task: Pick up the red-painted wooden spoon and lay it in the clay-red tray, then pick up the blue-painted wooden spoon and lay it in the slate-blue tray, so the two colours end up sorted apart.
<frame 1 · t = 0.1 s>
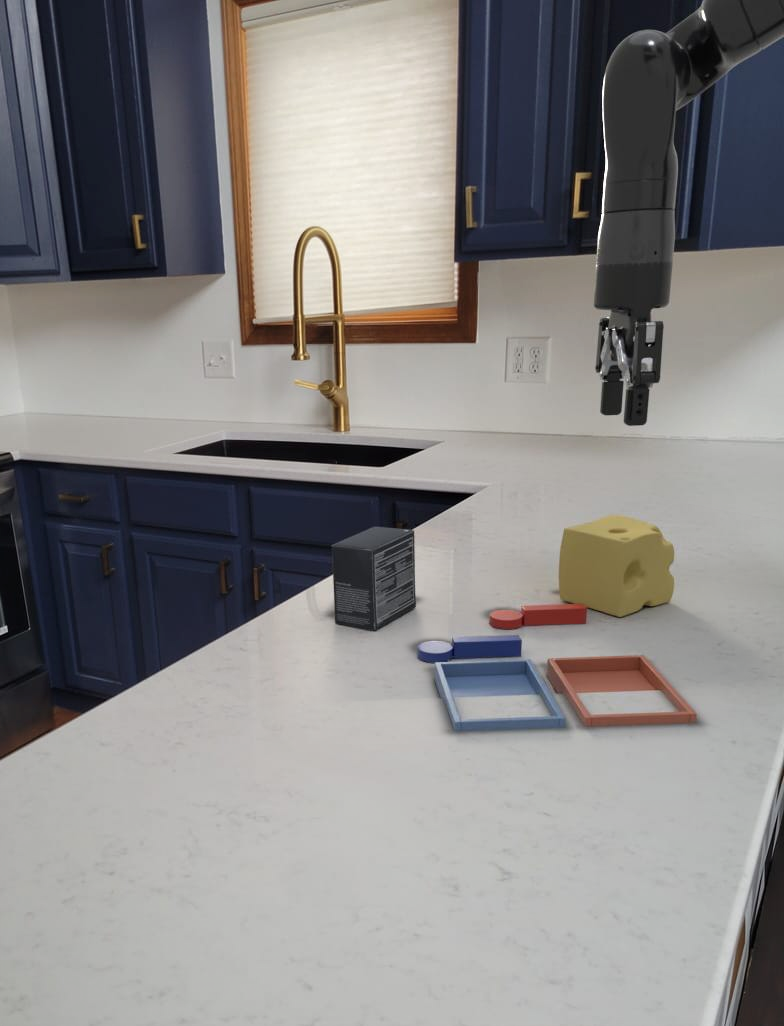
hand: (622, 419, 104), 25 cm above the worktop, tool pointing down, fingers open, 8 cm apart
red tray: (615, 702, 95), on the worktop
blue spoon: (472, 655, 109), on the worktop
cheese: (612, 602, 124), on the worktop
small box: (375, 616, 123), on the worktop
red spoon: (540, 622, 118), on the worktop
blue tray: (494, 706, 96), on the worktop
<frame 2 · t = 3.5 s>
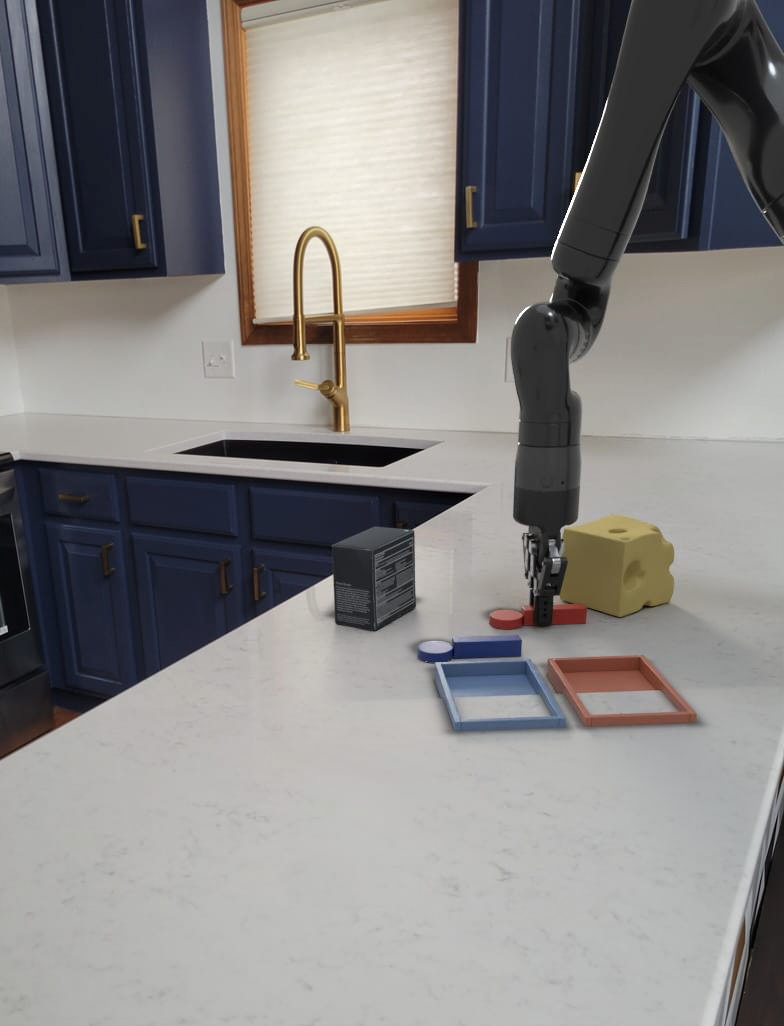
hand: (540, 620, 118), 0 cm above the worktop, tool pointing down, fingers closed on red spoon, 2 cm apart
red spoon: (540, 622, 118), on the worktop, touching gripper
everything else where it was.
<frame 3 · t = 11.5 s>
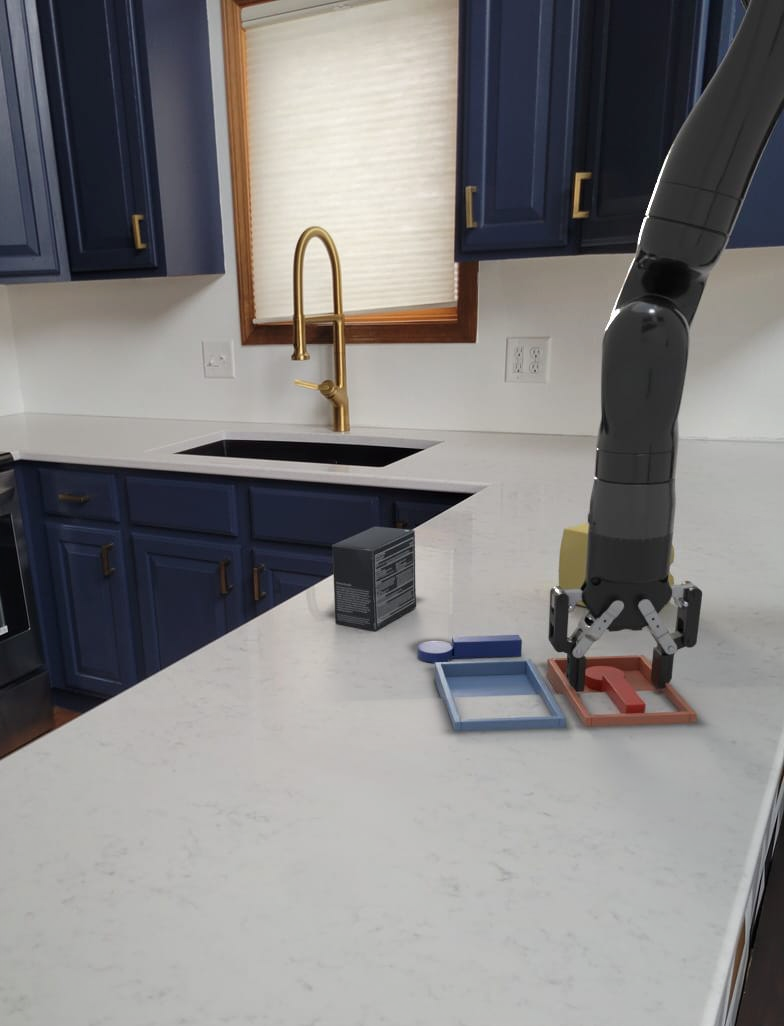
hand: (617, 687, 95), 2 cm above the worktop, tool pointing down, fingers open, 7 cm apart
red spoon: (616, 700, 95), resting on red tray
everything else where it was.
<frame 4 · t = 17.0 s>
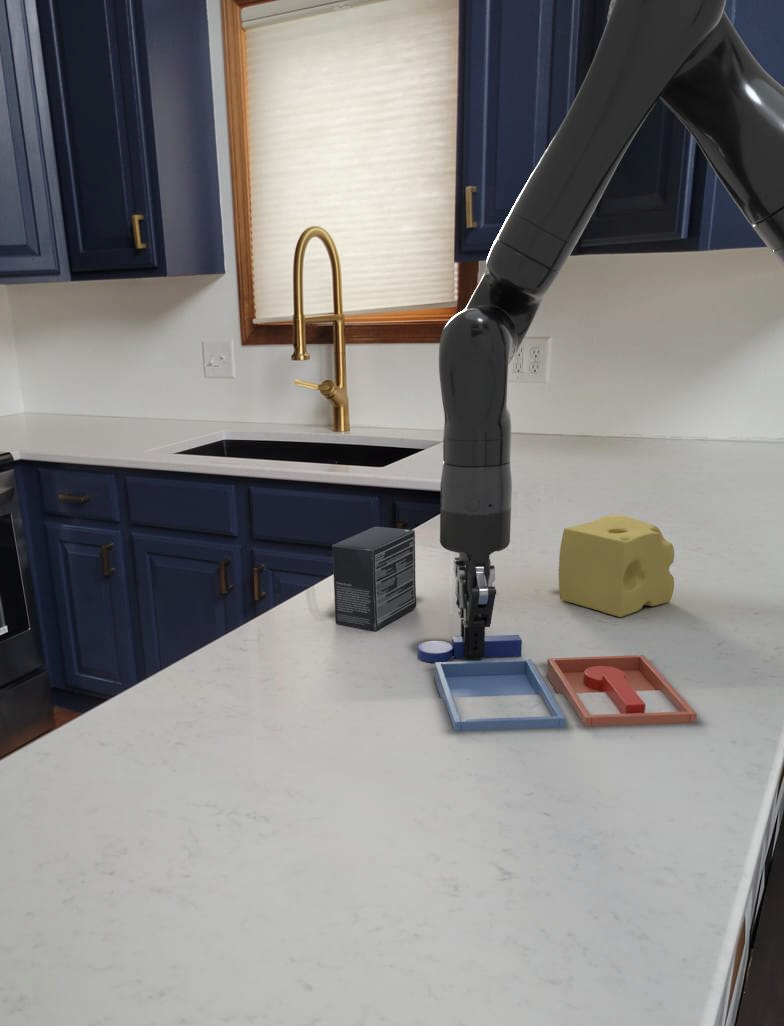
hand: (472, 653, 109), 0 cm above the worktop, tool pointing down, fingers closed on blue spoon, 2 cm apart
blue spoon: (472, 655, 109), on the worktop, touching gripper
everything else where it was.
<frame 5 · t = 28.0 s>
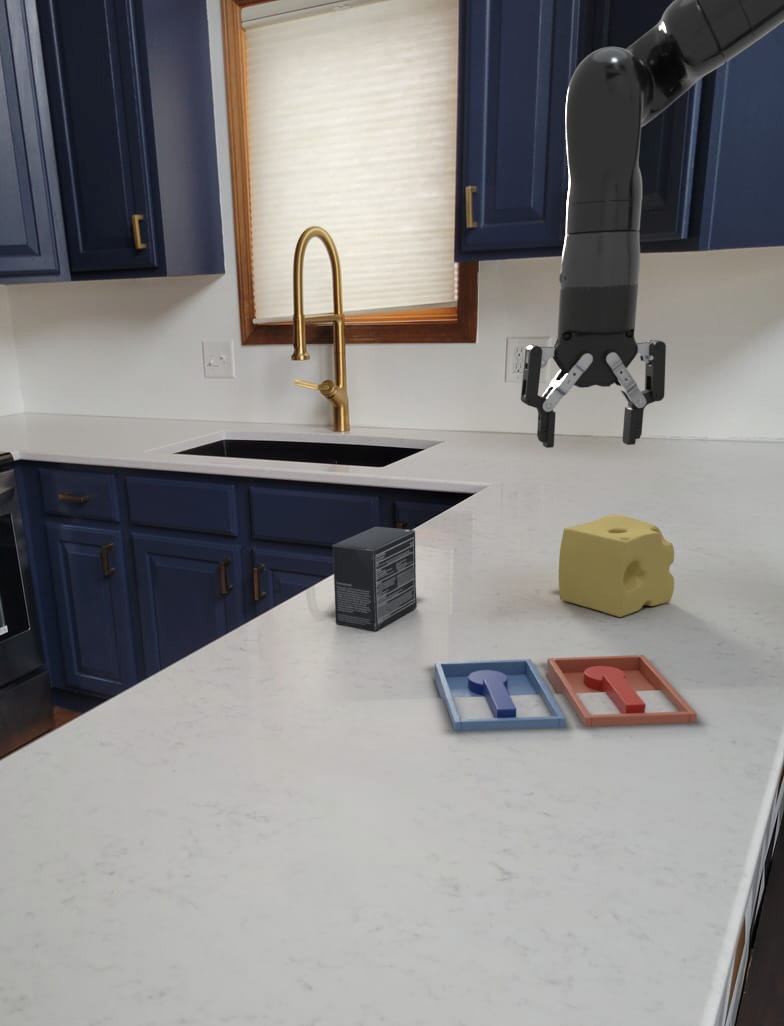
hand: (588, 445, 101), 23 cm above the worktop, tool pointing down, fingers open, 8 cm apart
blue spoon: (495, 704, 95), resting on blue tray
everything else where it was.
at the end: red spoon inside the target area in the red tray (0.6 cm from its centre), point 0.5 cm above the red tray's base; blue spoon inside the target area in the blue tray (0.7 cm from its centre), point 0.5 cm above the blue tray's base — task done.
